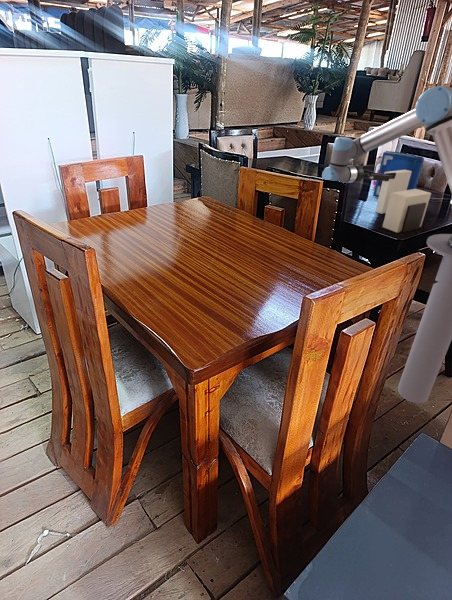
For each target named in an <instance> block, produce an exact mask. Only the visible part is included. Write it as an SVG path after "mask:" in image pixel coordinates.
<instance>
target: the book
mask: <svg viewBox="0 0 452 600" xmlns="http://www.w3.org/2000/svg"><path fill="white" fill-rule="evenodd" d="M424 161H425V158H424V156H418V155H415V154H412V153H406V152H400V151H392V150H391V151H390V150H385V151H384V152H383V153H382V157H381V161H380V163H379V164H380V169H379V173H382V174H384V173H385V172H389V171H397V170H409V171H412V172H411V176H410V179H409V183H408V187H407V190H411V189H417V188H416V187H417V185H418V181H419V177H420V174H421V171H422V167H423V165H424ZM381 186H382V181H378V180H377V181H376V185H375V189H374V190H373V194H372V197H375V198H379V194H380V190H381Z"/></svg>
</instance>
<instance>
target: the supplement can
mask: <svg viewBox="0 0 452 600" xmlns="http://www.w3.org/2000/svg"><path fill="white" fill-rule="evenodd" d="M380 164H381V163H378V164H377V165H376V166H375V167H376V168H375V171H374V173H379V169H380ZM372 181H373V182H372V187H371V189H372V190H373V191H374V189H375V185H376V181H377V180H372Z"/></svg>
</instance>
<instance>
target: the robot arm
mask: <svg viewBox="0 0 452 600" xmlns="http://www.w3.org/2000/svg"><path fill="white" fill-rule="evenodd" d="M422 127H423V128H424V130H425V133H426V134H427V135H430V136H432V139H433V142H434V144H435V148H436V150H437V154H438V157H439V161H440V162H441V166H442V169H443V171H444V174H445V177H446V181H447V184H448V186H449V190H450V193H451V194H452V86H443V85H436V86H433V87H430V88H428V89H425V91H424V92H422V94H420V96H419V97H418V99H417V100H416V103H415V106H414V109H411V110H410V111H408V112H406V113H404V114H402V115H400V116H398V117H396V118H394V119H392V120H390V121H388V122H386V123H384V124H382V125H380V126H378V127H376V128H374V129H372V130H370V131H368V132H366V133H363V134H362V135H361V136H359V137H356V138H355V139H353V138H351V137H348V136H347V137H346V136H337V137H336V138H335V140H334V143H333V146H332V152H331V158H330V163H329V166H328V167H325V168H324V169H323V171H322V172H321V173H322V174H321V178H322V180H323V179H325V180H332V181H340V182H345V183H346V184H351V183H353V184H354V183H355V184H356V183H359V182H361V181H362V180H368V181H374V180H378V181H385V182H386V181H389V179H395V176H396V173H386V174H382V173H375V171H374V168H375V164H366V165H364V163H360V164H353V165H349V161H350V160H351V159H357V158H360V157H361V156H363V155H364V154H366V153H369V152H370V151H373V150H375V149H377V148H379V147H381V146H384V145H385V144H386V145H387V144H388V143H390V142H392V141H395V140H397V139H398V138H401V137H403V136H405V135H408V134H410V133H411V132H414V131H416V130H418V129H420V128H422ZM449 204H450V208H451V209H452V199H451V200H450V202H449ZM447 245H448V246H450V247H451V248H452V235H451V236H450V237H449V239H448V242H447Z"/></svg>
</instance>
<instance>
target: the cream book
mask: <svg viewBox="0 0 452 600" xmlns="http://www.w3.org/2000/svg"><path fill="white" fill-rule="evenodd" d="M411 172H412V171H409V170H397V171H389V172H385V173H384V174H386V173H396V176H395V179H389V181H386V182H385V181H382V186H381V190H380V194H379V197H377V198H378V199H377V203H376V208H375V213H377V214H381V215H382V214H386V211H387V207H388V203H389V199H390V195H391V193H392V192H399V191H405V190H407V187H408V183H409V179H410V176H411Z"/></svg>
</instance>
